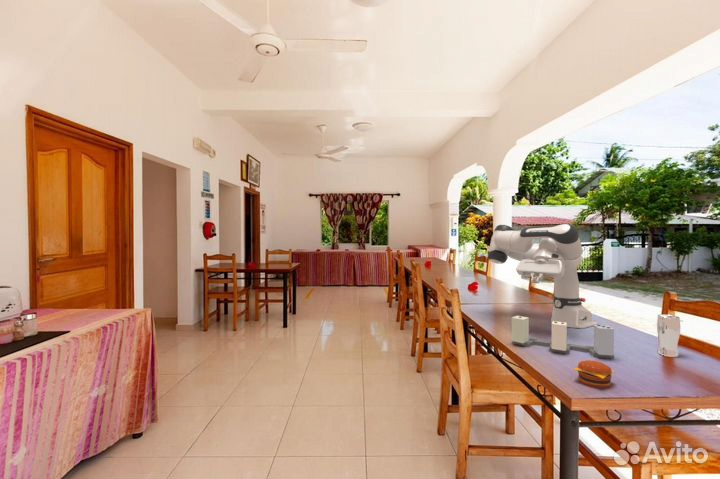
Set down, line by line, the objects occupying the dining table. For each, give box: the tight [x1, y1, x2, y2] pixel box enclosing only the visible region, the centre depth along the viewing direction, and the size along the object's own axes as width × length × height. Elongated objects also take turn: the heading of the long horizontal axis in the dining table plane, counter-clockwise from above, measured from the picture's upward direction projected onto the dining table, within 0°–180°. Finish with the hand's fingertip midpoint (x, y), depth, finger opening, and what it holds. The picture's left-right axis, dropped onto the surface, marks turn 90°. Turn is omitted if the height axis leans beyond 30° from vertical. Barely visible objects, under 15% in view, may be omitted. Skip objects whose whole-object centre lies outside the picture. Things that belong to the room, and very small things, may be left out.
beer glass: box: [656, 313, 681, 358], centre depth 141 cm, size 7×7×15 cm
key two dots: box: [551, 321, 568, 351], centre depth 145 cm, size 5×5×10 cm
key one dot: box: [511, 315, 530, 343], centre depth 155 cm, size 5×5×10 cm
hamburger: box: [573, 359, 616, 389], centre depth 117 cm, size 9×10×7 cm
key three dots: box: [593, 324, 615, 357], centre depth 139 cm, size 5×5×10 cm
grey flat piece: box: [511, 336, 615, 359], centre depth 150 cm, size 12×36×2 cm, turn 57°
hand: (534, 282), depth 164 cm, fingers closed
